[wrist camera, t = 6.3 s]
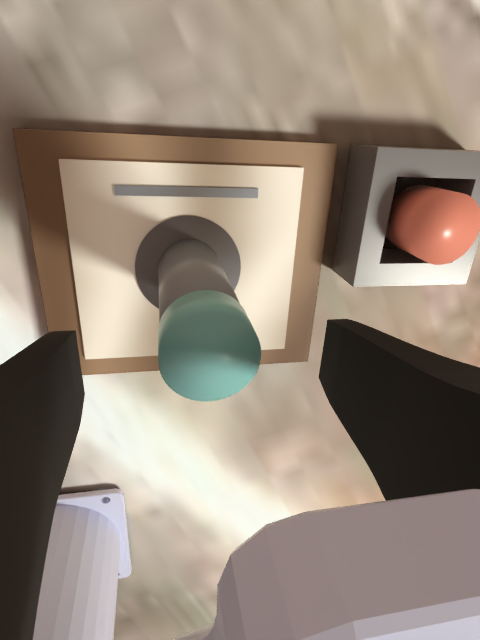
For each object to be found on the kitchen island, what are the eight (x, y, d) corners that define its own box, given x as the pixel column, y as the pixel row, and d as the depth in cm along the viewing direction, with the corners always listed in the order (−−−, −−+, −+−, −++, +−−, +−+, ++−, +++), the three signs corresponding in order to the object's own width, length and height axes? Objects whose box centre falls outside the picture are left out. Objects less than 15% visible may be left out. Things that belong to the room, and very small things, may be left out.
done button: (378, 249, 19) (407, 265, 17) (391, 183, 18) (424, 191, 16) (434, 249, 20) (469, 264, 18) (450, 185, 19) (490, 193, 16)
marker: (158, 299, 19) (161, 405, 12) (155, 238, 18) (155, 314, 10) (220, 297, 19) (258, 396, 12) (221, 237, 18) (264, 309, 11)
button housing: (332, 269, 21) (353, 286, 19) (351, 144, 18) (378, 147, 16) (434, 268, 22) (465, 283, 20) (466, 149, 20) (505, 153, 17)
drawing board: (59, 368, 20) (54, 380, 20) (19, 128, 16) (10, 128, 15) (303, 354, 23) (309, 364, 22) (330, 143, 18) (340, 144, 17)
